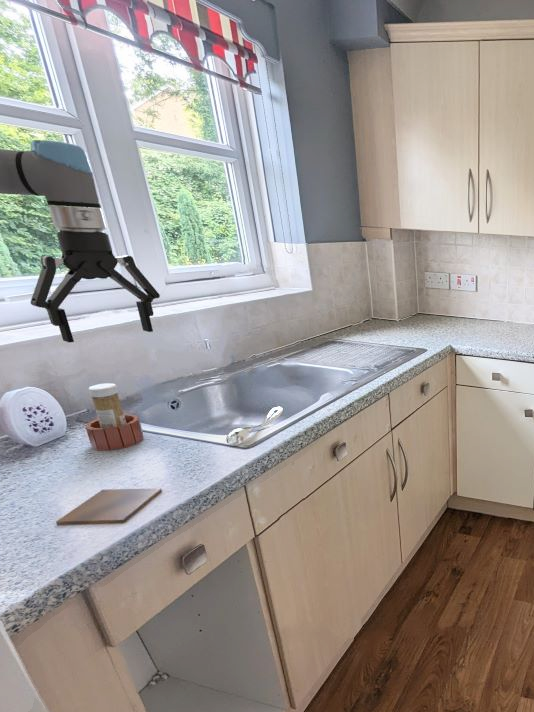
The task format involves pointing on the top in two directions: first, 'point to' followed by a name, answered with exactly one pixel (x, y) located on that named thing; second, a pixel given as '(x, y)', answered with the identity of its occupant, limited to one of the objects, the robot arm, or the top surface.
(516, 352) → the top surface
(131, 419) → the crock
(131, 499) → the cork board
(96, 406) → the sprinkles bottle
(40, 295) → the robot arm
